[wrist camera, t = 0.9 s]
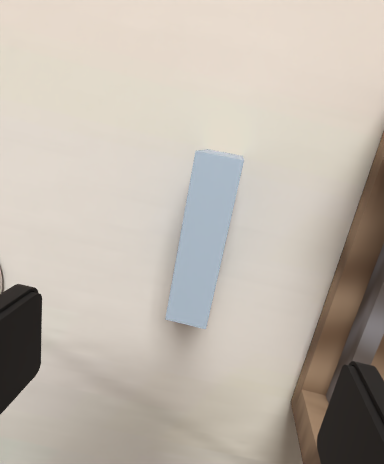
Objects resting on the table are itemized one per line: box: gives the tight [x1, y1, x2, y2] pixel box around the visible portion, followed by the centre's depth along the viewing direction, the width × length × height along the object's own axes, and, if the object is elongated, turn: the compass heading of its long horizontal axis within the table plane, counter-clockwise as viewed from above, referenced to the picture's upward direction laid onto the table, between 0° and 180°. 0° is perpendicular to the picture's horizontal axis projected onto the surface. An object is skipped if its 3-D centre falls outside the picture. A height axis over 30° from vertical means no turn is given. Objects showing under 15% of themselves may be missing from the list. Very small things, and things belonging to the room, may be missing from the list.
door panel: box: [165, 149, 244, 329], centre depth 25 cm, size 12×3×8 cm, turn 169°
